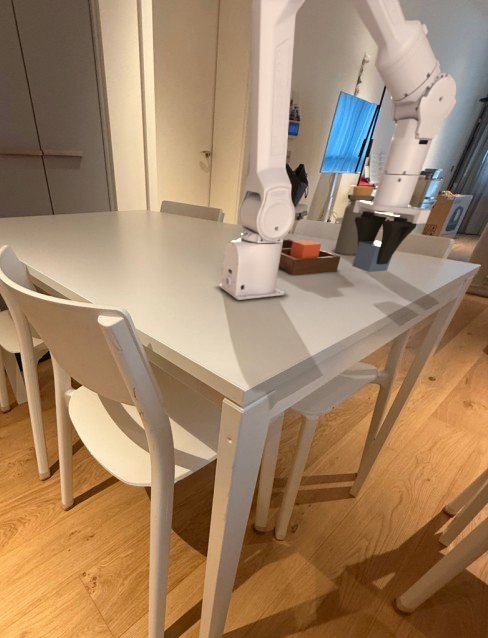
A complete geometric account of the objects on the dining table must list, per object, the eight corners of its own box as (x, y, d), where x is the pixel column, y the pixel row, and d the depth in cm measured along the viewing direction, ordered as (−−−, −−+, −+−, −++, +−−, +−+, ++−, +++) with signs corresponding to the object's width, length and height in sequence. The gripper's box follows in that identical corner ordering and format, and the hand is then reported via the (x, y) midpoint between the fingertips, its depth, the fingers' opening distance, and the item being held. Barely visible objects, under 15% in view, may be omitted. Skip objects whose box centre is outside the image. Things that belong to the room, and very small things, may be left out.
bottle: (353, 250, 92) (372, 186, 84) (360, 255, 88) (380, 187, 79) (331, 249, 93) (348, 185, 84) (337, 254, 88) (355, 187, 79)
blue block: (368, 272, 62) (377, 246, 60) (352, 266, 66) (359, 241, 63) (386, 270, 64) (395, 245, 61) (369, 264, 67) (377, 240, 64)
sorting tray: (336, 271, 75) (340, 256, 73) (292, 275, 71) (295, 259, 70) (287, 251, 90) (289, 239, 88) (249, 254, 86) (250, 241, 85)
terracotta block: (299, 266, 74) (304, 245, 72) (288, 261, 78) (292, 241, 75) (316, 265, 76) (321, 244, 73) (304, 260, 79) (309, 240, 76)
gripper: (458, 177, 51) (420, 268, 59) (384, 173, 62) (360, 250, 70) (424, 176, 49) (389, 271, 57) (354, 172, 60) (333, 252, 68)
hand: (371, 260), depth 64 cm, fingers closed on blue block, 4 cm apart
